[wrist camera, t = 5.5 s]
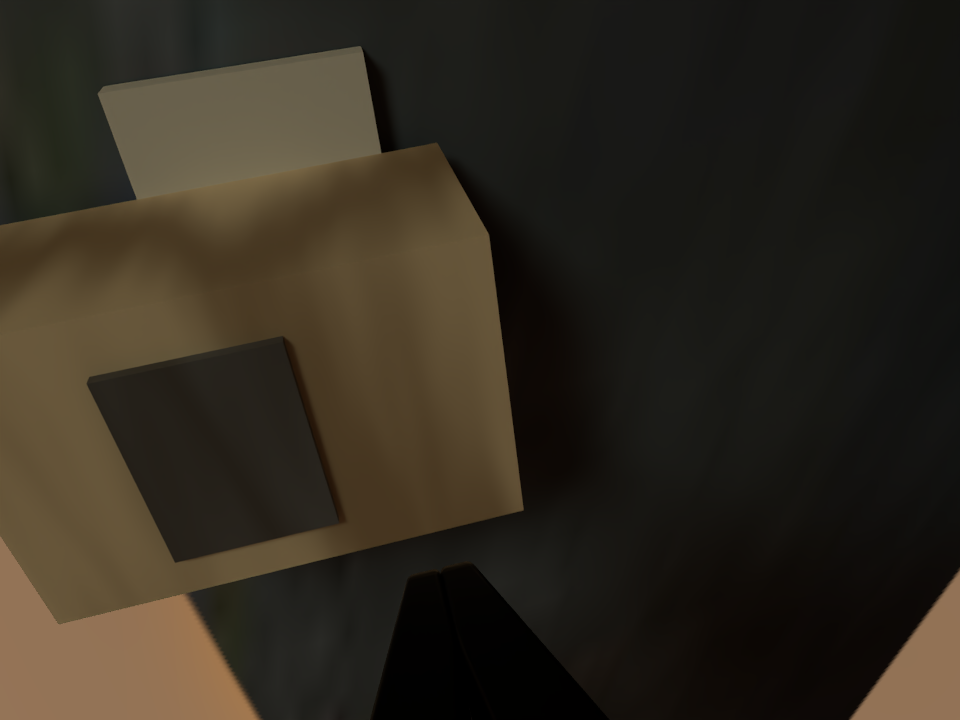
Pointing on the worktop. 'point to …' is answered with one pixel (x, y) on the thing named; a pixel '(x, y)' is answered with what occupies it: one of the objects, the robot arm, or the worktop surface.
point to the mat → (242, 121)
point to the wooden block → (248, 380)
